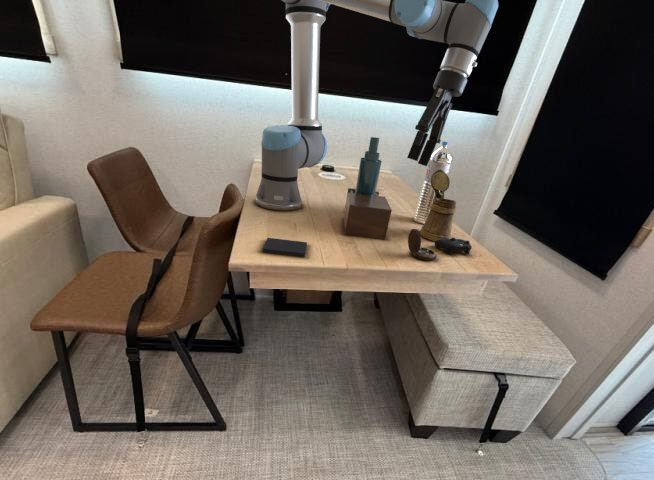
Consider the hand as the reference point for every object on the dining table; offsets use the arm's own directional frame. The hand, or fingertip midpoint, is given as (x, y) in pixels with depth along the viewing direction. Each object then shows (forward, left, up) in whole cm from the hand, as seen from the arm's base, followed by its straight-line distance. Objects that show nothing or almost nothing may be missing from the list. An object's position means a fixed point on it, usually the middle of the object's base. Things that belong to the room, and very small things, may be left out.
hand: (417, 162), depth 90 cm
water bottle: (-13, +10, -20) cm, 26 cm away
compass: (+17, +2, -20) cm, 26 cm away
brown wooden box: (+2, -12, -20) cm, 23 cm away
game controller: (+11, +13, -20) cm, 26 cm away
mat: (+23, -33, -20) cm, 45 cm away
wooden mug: (-1, +10, -20) cm, 23 cm away
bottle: (-9, -12, -18) cm, 23 cm away
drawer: (-11, -12, -19) cm, 25 cm away
